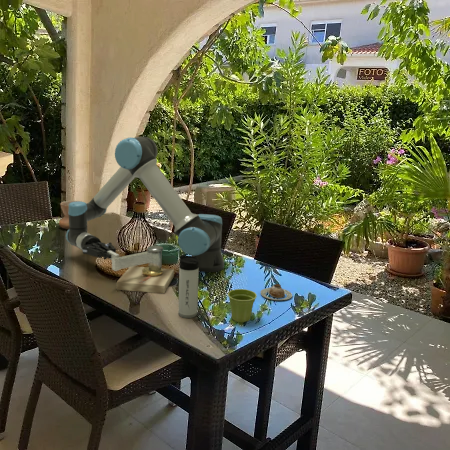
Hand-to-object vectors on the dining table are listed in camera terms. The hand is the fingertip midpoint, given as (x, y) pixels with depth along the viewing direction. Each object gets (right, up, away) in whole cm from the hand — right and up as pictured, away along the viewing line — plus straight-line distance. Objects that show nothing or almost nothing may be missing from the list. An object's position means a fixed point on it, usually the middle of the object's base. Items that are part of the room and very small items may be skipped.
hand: (117, 258), depth 177 cm
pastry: (+60, -14, -2) cm, 62 cm away
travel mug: (+29, -17, -22) cm, 40 cm away
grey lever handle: (+8, -7, +1) cm, 10 cm away
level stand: (+11, -10, +4) cm, 15 cm away
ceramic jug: (-41, +11, +75) cm, 86 cm away
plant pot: (+46, -19, -23) cm, 55 cm away
